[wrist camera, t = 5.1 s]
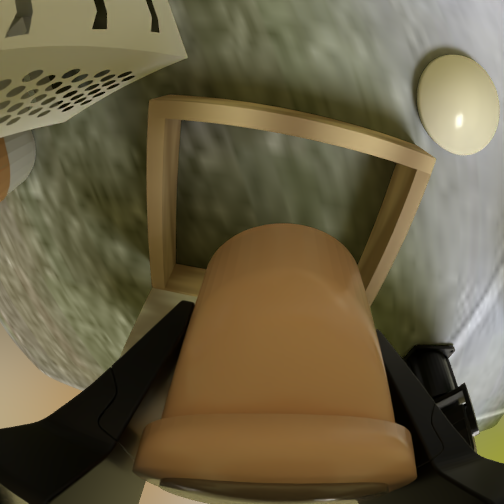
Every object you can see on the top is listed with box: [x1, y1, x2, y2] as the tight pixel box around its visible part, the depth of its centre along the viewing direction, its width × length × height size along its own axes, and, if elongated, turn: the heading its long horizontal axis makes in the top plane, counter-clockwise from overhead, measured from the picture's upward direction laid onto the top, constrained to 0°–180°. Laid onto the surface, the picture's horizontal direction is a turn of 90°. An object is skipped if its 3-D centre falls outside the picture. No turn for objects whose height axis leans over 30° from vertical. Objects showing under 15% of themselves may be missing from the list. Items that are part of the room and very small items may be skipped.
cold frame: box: [120, 95, 436, 357], centre depth 15 cm, size 16×14×12 cm
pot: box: [132, 223, 417, 504], centre depth 7 cm, size 6×6×7 cm
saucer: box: [417, 55, 499, 155], centre depth 13 cm, size 7×7×1 cm
